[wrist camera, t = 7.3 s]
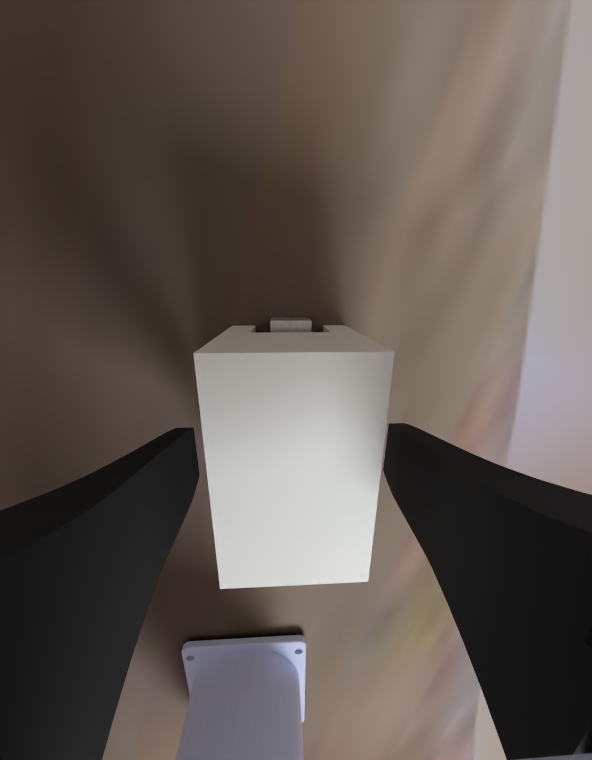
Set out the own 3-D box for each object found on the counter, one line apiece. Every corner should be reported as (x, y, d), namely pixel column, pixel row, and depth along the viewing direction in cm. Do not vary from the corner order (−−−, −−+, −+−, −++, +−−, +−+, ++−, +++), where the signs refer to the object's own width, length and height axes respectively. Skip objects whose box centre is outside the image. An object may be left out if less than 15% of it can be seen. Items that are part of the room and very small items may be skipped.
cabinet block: (336, 475, 15) (368, 581, 9) (242, 478, 15) (220, 589, 9) (344, 325, 12) (394, 351, 7) (232, 325, 12) (193, 352, 7)
